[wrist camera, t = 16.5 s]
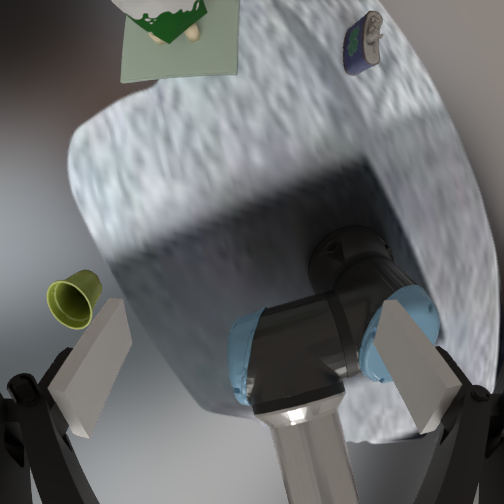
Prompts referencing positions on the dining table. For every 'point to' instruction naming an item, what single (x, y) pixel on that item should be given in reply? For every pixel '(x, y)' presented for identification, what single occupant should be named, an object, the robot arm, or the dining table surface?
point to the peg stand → (184, 47)
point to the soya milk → (163, 15)
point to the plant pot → (74, 298)
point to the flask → (362, 44)
